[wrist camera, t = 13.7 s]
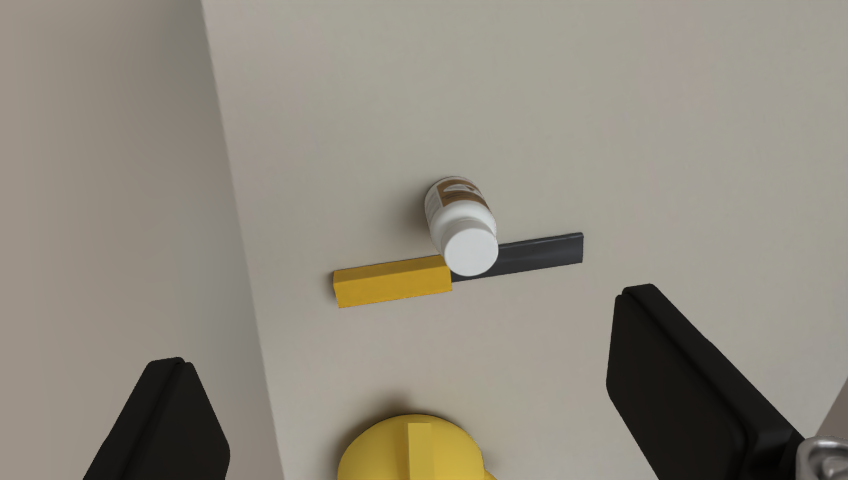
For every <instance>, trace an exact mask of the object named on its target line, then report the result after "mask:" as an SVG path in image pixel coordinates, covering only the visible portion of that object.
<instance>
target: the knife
mask: <svg viewBox="0 0 848 480" xmlns="http://www.w3.org/2000/svg"><path fill="white" fill-rule="evenodd" d="M583 238H584V235H583V234H582V233H575V234H568V235H561V236H555V237H548V238H542V239H535V240H528V241H522V242H515V243H509V244H502V245H498V256H497V259H496V261H495V262H494V264H493V265H492V266H491V267H490V268H489V269H488V270H487V271H485V272H483V273H481V274H478V275H474V276H463V275H459V274H457V273H455V272H453V271H452V270H450V269H449V267H448V266H447V265H446V263H445V260H444V257H443V256H442V255H436V256H430V257H423V258H417V259H410V260H403V261H397V262H390V263H384V264H377V265H370V266H364V267H357V268H351V269H344V270H338V271H334V278H333V286H334V290H335V294H336V298H337V302H338V306H339V308H344V307H351V306H357V305H364V304H370V303H377V302H383V301H390V300H396V299H403V298H409V297H416V296H422V295H429V294H435V293H442V292H448V291H452V284H451V283H452V282H459V281H465V280H472V279H478V278H485V277H491V276H498V275H504V274H511V273H517V272H524V271H530V270H537V269H543V268H550V267H556V266H563V265H569V264H576V263H582V260H583Z"/></svg>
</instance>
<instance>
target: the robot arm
mask: <svg viewBox="0 0 848 480" xmlns="http://www.w3.org/2000/svg"><path fill="white" fill-rule="evenodd" d="M606 387H607V391H608V394H609V397H610V399H611V401H612V402H613V404H614V406H615V407H616V409H617V411H618V412H619V414H620V416H621V417H622V419H623V421H624V422H625V424H626V426H627V427H628V429H629V431H630V432H631V434H632V436H633V437H634V439H635V441H636V442H637V444H638V446H639V447H640V449H641V451H642V452H643V454H644V456H645V457H646V459H647V461H648V462H649V464H650V466H651V467H652V469H653V471H654V472H655V474H656V476H657V477H658V479H659V480H848V440H847V439H843V438H839V437H834V436H815V437H811V438H807V439H805V438H804V437H803V436H802V435H801V434H800V433H799V432H798V431H797V430H796V429H795V428H794V427H793V426H792V425H791V424H790V423H789V422H788V421H787V420H786V419H785V418H784V417H783V416H782V415H781V414H780V413H779V412H778V411H777V410H776V409H775V407H774V406H773V405H772V404H771V403H770V402H769V401H768V400H767V399H766V398H765V397H764V396H763V395H762V394H761V393H760V392H759V391H758V390H757V389H756V388H755V387H754V386H753V385H752V384H751V383H750V382H749V381H748V380H747V379H746V378H745V377H744V376H743V374H742V373H741V372H740V371H739V370H738V369H737V368H736V367H735V366H734V365H733V364H732V363H731V362H730V361H729V360H728V359H727V358H726V357H725V356H724V355H723V354H722V353H721V352H720V351H719V350H718V349H717V348H716V347H715V346H714V345H713V344H712V343H711V342H710V341H709V340H708V339H706V338H705V337H704V336H703V335H702V334H701V333H700V332H699V331H698V330H697V329H696V328H695V327H694V326H693V325H692V324H691V323H690V322H689V320H688V319H687V318H686V317H685V316H684V315H683V314H682V313H681V312H680V311H679V310H678V309H677V308H676V307H675V306H674V305H673V304H672V303H671V302H670V301H669V300H668V299H667V298H666V297H665V296H664V295H663V294H662V293H661V291H660V290H659V289H658V288H657V287H656V286H654V285H653V284H643V285H637V286H631V287H626V288H624V289H623V291H622V295H618V296H617V297H616V299H615V306H614V315H613V324H612V333H611V342H610V351H609V360H608V369H607V378H606ZM229 461H230V449H229V444H228V442H227V440H226V438H225V435H224V433H223V431H222V429H221V426H220V424H219V422H218V420H217V417H216V415H215V413H214V411H213V408H212V406H211V404H210V401H209V399H208V397H207V395H206V392H205V390H204V388H203V386H202V383H201V381H200V379H199V377H198V374H197V372H196V370H195V368H194V366H193V364H192V363H191V362H186V363H185V361H184V360H183V359H182V358H181V357H174V358H167V359H161V360H155V361H151V362H150V363H148V365H147V366H146V368H145V370H144V371H143V373H142V375H141V377H140V379H139V380H138V382H137V384H136V386H135V388H134V389H133V392H132V393H131V395H130V397H129V399H128V401H127V402H126V404H125V406H124V408H123V410H122V412H121V413H120V415H119V417H118V419H117V421H116V423H115V424H114V426H113V428H112V430H111V431H110V433H109V435H108V437H107V438H106V439H105V441H104V442H103V444H102V445H101V447H100V449H99V451H98V453H97V455H96V456H95V458H94V460H93V462H92V464H91V465H90V467H89V469H88V471H87V473H86V475H85V476H84V478H83V480H225V477H226V473H227V469H228V466H229Z"/></svg>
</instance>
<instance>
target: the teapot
mask: <svg viewBox="0 0 848 480" xmlns="http://www.w3.org/2000/svg"><path fill="white" fill-rule="evenodd" d="M338 480H497V479H496V478H495V477H493V476H492V475H491V474H490V473H489V472H488V471H486V470H485V469H484V465H483V459H482V455H481V452H480V449H479V447H478V446H477V444H476V443H475V441H474V440H473V439H472V438H471V436H470V435H469V434H467V433H466V432H465V431H464V430H462V429H461V428H459V427H457V426H456V425H454V424H452V423H450V422H448V421H446V420H443V419H441V418H438V417H434V416H430V415H422V414H409V415H401V416H396V417H392V418H388V419H386V420H383V421H381V422H379V423H377V424H375V425H373V426H372V427H370V428H369V429H367V430H366V431H364V432H363V433H362V434H361V435H360V436H358V437H357V438H356V439H355V440H354V441H353V442H352V443H351V444H350V445H349V446H348V448H347V449H346V451H345V452H344V454H343V456H342V459H341V461H340V463H339V467H338Z"/></svg>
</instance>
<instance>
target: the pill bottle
mask: <svg viewBox="0 0 848 480" xmlns="http://www.w3.org/2000/svg"><path fill="white" fill-rule="evenodd" d="M424 206H425V214H426V218H427V222H428V227H429V231H430V235H431V239H432V242H433V245H434V247H435V249H436V250H437V251H438V253H439V254H440V255H442V256H443V257H444V260H445V263H446V265H447V266H448V267H449V269H450V270H452V271H453V272H455V273H457V274H459V275H463V276H474V275H478V274H481V273H483V272H485V271H487V270H488V269H489V268H490V267H491V266H492V265H493V264H494V262H495V261H496V259H497V256H498V243H497V240H496V238H495V237H496V223H495V220H494V218H493V215H492V213H491V211H490V210H489V207H488V206H487V204H486V202H485V200H484V198H483V196H482V194H481V193H480V191H479V189H478V187H477V186H476V185H475V184H474V183H473V182H471V181H469V180H467V179H465V178H461V177H449V178H445V179H443V180H441V181H439V182H437V183H436V184H434V185H433V186H432V188H431V189H430V190H429V192H428V193H427V196H426V198H425V205H424Z"/></svg>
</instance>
